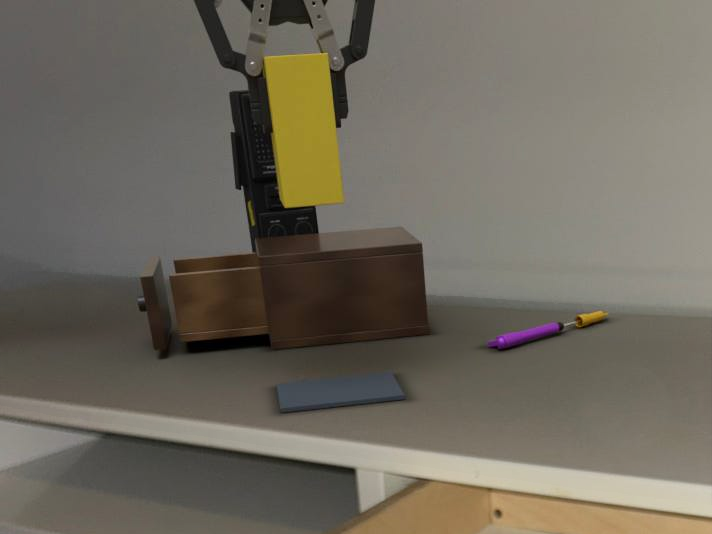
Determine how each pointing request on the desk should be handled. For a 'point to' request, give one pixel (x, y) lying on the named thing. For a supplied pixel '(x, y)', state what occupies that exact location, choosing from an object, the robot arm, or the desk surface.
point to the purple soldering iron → (544, 330)
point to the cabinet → (343, 286)
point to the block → (303, 130)
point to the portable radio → (262, 178)
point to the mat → (338, 392)
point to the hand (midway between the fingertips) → (301, 129)
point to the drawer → (205, 298)
